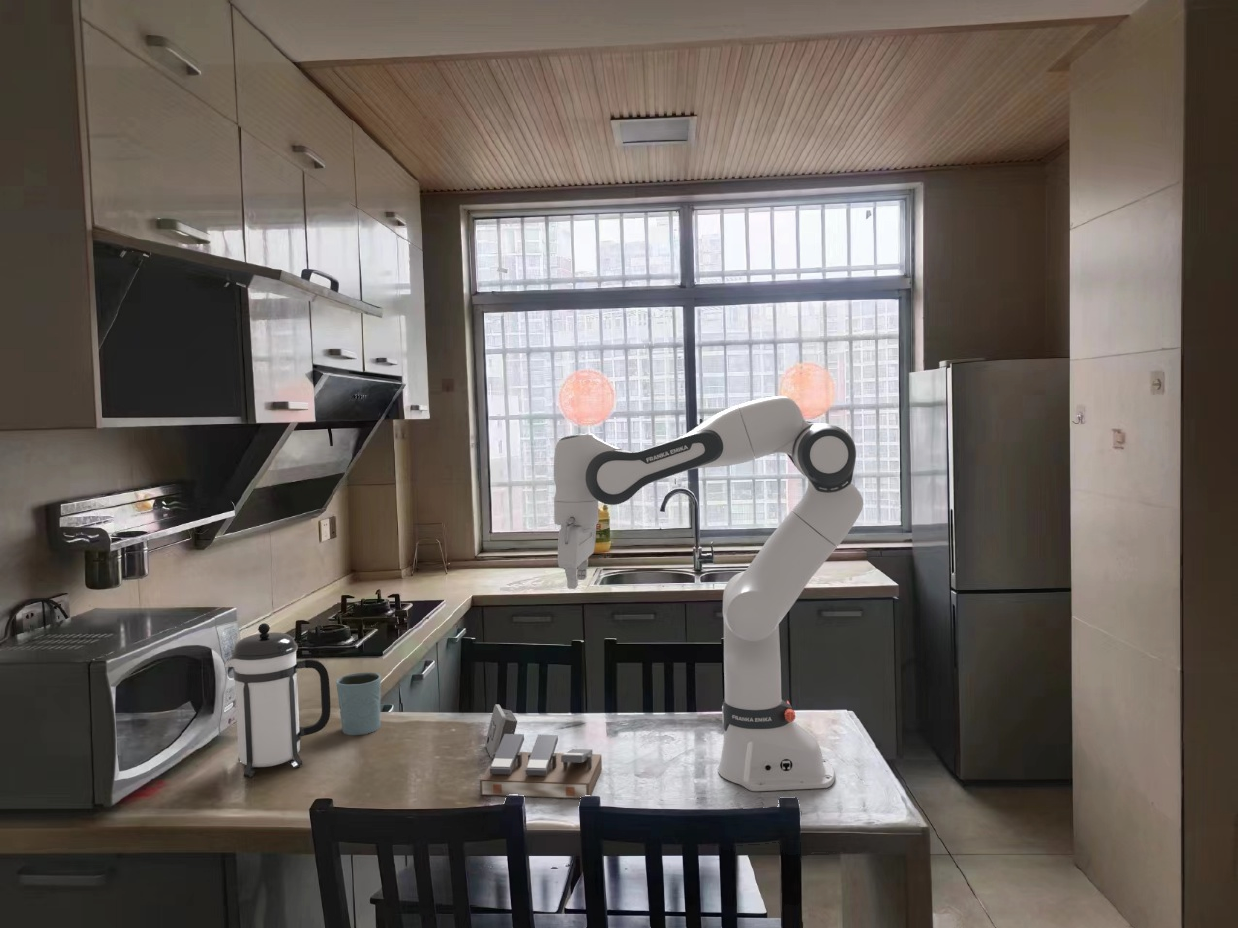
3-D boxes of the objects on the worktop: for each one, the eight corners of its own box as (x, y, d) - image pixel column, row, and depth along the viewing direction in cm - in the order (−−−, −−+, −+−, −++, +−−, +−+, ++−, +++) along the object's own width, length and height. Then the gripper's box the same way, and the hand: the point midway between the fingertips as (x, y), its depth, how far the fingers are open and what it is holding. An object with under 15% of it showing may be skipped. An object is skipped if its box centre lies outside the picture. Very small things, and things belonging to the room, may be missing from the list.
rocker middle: (558, 740, 173) (557, 734, 173) (546, 775, 163) (545, 769, 163) (538, 739, 174) (538, 734, 174) (525, 774, 164) (525, 768, 163)
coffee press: (277, 783, 171) (270, 634, 170) (215, 774, 177) (207, 629, 175) (334, 751, 187) (328, 615, 186) (275, 744, 193) (269, 611, 192)
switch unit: (601, 768, 174) (601, 742, 174) (588, 800, 160) (588, 771, 159) (501, 765, 177) (500, 739, 177) (479, 796, 163) (478, 767, 162)
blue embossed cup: (366, 738, 195) (363, 686, 195) (328, 734, 198) (326, 682, 198) (391, 723, 205) (389, 673, 204) (355, 719, 208) (353, 670, 207)
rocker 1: (524, 739, 174) (523, 733, 174) (510, 774, 164) (509, 768, 164) (505, 738, 175) (504, 733, 175) (490, 773, 165) (489, 767, 164)
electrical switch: (484, 745, 189) (487, 703, 189) (508, 744, 190) (510, 703, 190) (491, 761, 180) (494, 717, 180) (515, 760, 181) (518, 716, 181)
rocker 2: (592, 755, 172) (592, 748, 172) (581, 762, 161) (582, 755, 162) (572, 755, 173) (572, 748, 173) (561, 761, 162) (561, 754, 162)
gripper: (582, 520, 161) (583, 594, 161) (600, 509, 181) (601, 574, 182) (549, 520, 162) (550, 593, 162) (571, 509, 182) (572, 574, 182)
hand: (577, 583), depth 172 cm, fingers open, 8 cm apart
